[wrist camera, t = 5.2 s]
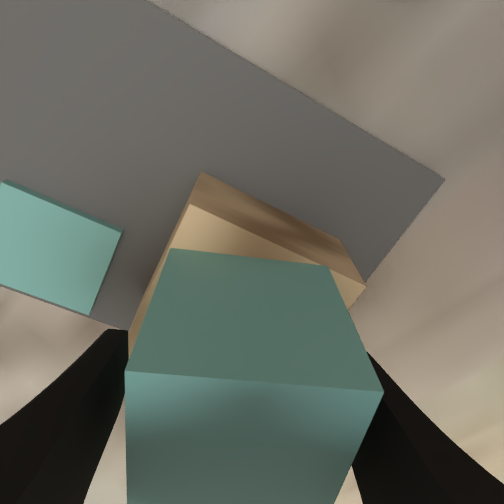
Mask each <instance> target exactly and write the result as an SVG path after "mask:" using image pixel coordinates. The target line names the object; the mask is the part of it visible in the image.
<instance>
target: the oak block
mask: <svg viewBox="0 0 504 504" xmlns="http://www.w3.org/2000/svg"><path fill="white" fill-rule="evenodd" d="M170 248H177V249H186V250H195V251H203V252H212V253H221V254H229V255H238V256H247V257H255V258H264V259H273V260H281V261H290V262H298V263H307V264H316V265H324V266H328V267H329V270H330V272H331V274H332V276H333V279H334V281H335V283H336V285H337V287H338V290H339V292H340V294H341V296H342V299H343V301H344V303H345V305H346V308H347V310H349V308H350V307H351V306H352V305H353V303H354V302H355V301H356V300H357V298H358V297H359V296H360V294H361V293H362V292H363V291H364V289H365V288H366V287H367V286H366V284H365V283H364V281H363V279H362V277H361V276H360V274H359V272H358V271H357V269H356V267H355V265H354V264H353V262H352V260H351V258H350V257H349V255H348V253H347V252H346V250H345V248H344V246H343V245H342V243H341V241H340V240H339V239H338V238H336V237H334V236H332V235H329V234H327V233H325V232H323V231H321V230H319V229H317V228H315V227H313V226H311V225H309V224H307V223H305V222H303V221H301V220H299V219H297V218H295V217H293V216H291V215H289V214H287V213H285V212H283V211H281V210H279V209H277V208H275V207H273V206H271V205H269V204H267V203H265V202H263V201H261V200H259V199H257V198H255V197H253V196H251V195H249V194H247V193H245V192H243V191H241V190H239V189H236V188H234V187H232V186H230V185H228V184H226V183H224V182H222V181H220V180H218V179H216V178H214V177H212V176H210V175H208V174H206V173H204V172H202V171H201V173H200V175H199V177H198V179H197V181H196V183H195V186H194V188H193V190H192V192H191V194H190V196H189V198H188V201H187V203H186V205H185V207H184V209H183V211H182V214H181V216H180V218H179V220H178V222H177V224H176V226H175V229H174V231H173V233H172V235H171V237H170V239H169V241H168V244H167V246H166V248H165V250H164V252H163V254H162V257H161V259H160V261H159V263H158V265H157V267H156V269H155V272H154V274H153V276H152V278H151V280H150V282H149V285H148V287H147V289H146V291H145V293H144V295H143V298H142V300H141V302H140V305H139V307H138V310H137V312H136V315H135V317H134V319H133V322H132V324H131V327H130V329H129V332H128V349H129V357H130V355H131V352H132V350H133V347H134V344H135V342H136V339H137V336H138V333H139V331H140V328H141V325H142V323H143V320H144V317H145V315H146V312H147V309H148V307H149V304H150V301H151V299H152V296H153V293H154V291H155V288H156V285H157V283H158V280H159V277H160V274H161V272H162V269H163V266H164V264H165V261H166V258H167V256H168V253H169V250H170Z"/></svg>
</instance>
